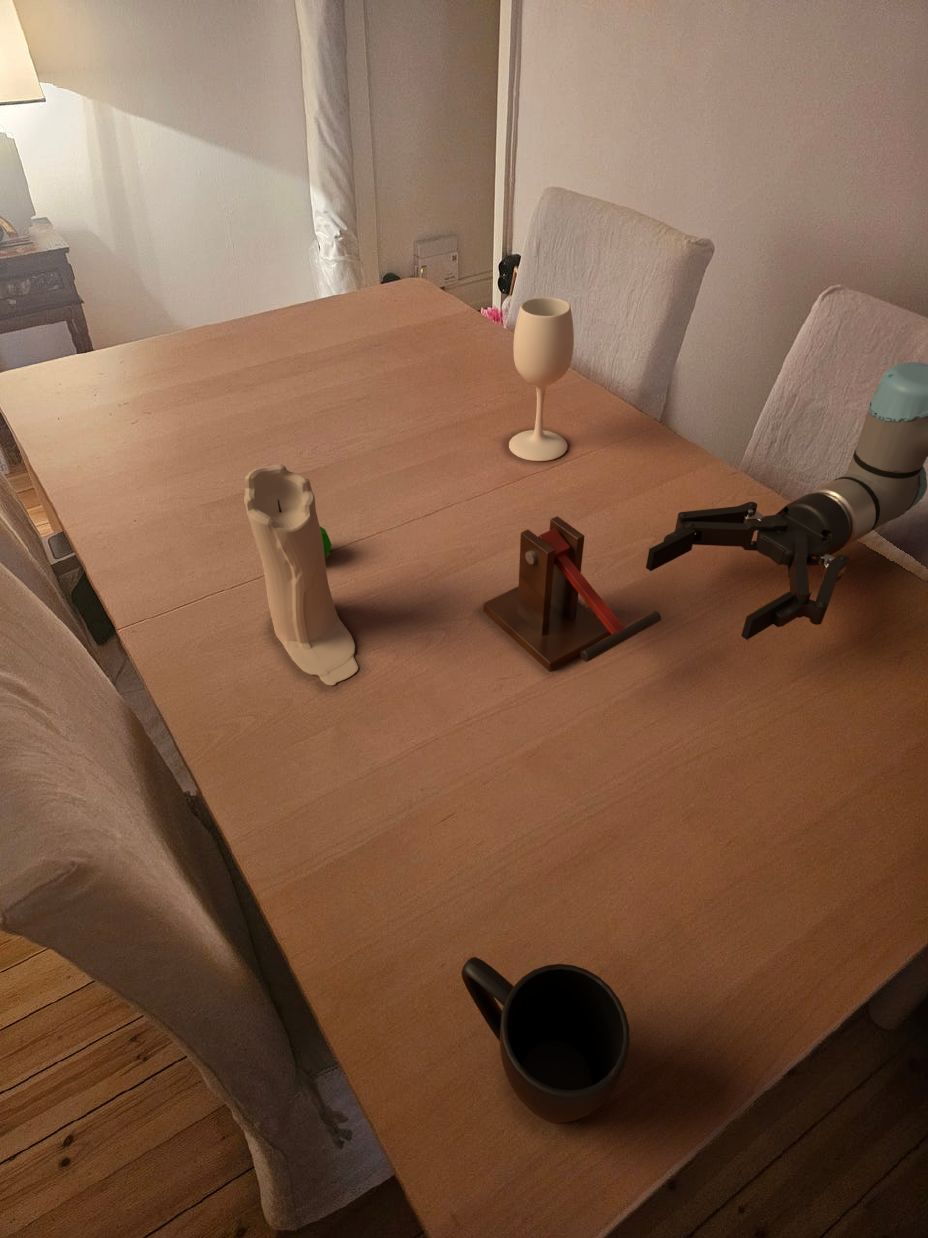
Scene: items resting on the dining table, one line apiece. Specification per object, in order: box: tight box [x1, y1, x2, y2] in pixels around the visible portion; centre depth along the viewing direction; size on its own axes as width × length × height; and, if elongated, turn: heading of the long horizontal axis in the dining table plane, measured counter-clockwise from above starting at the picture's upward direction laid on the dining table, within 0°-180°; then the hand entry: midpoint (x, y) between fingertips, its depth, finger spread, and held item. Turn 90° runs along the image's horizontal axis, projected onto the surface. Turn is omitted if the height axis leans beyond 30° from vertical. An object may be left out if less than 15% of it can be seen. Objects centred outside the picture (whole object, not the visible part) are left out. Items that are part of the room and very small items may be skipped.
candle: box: [243, 463, 359, 686], centre depth 85 cm, size 7×14×20 cm, turn 32°
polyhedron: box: [319, 525, 332, 559], centre depth 101 cm, size 5×5×5 cm
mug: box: [461, 956, 631, 1124], centre depth 56 cm, size 8×12×10 cm
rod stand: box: [482, 515, 612, 672], centre depth 89 cm, size 12×9×13 cm
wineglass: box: [508, 296, 575, 462], centre depth 115 cm, size 9×9×21 cm
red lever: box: [538, 528, 662, 663], centre depth 84 cm, size 14×10×2 cm
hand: (695, 592), depth 86 cm, fingers open, 13 cm apart
